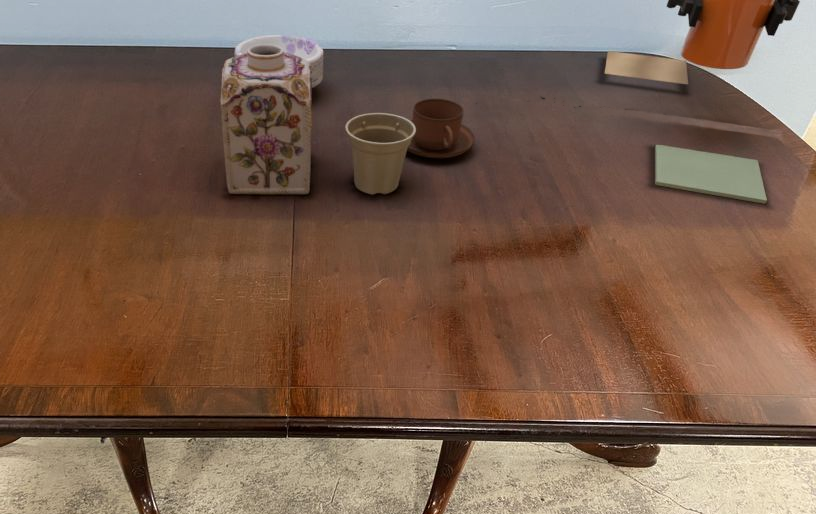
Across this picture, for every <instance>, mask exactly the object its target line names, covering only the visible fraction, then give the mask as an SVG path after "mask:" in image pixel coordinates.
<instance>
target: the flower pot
mask: <svg viewBox="0 0 816 514" xmlns="http://www.w3.org/2000/svg"><path fill="white" fill-rule="evenodd" d="M344 127H345V128H344V129H345V133H346V134H347V136H348V142H349V143H350V149H351V159H352V168H353V182H354V185H355V187H356V188H357V190H359V191H361V192H362V193H365V194H368V195H375V194H382V195H388V194H390V193H392V192H394V191H395V190H396V189H397V188H398V186H399V183H400V180H401V179H400V178H401V174H402V170H403V168H404V167H403V166H404V162H405V160H406V159H405V158H406V155H407V152H408V151H407V148H408V146H409V145H410V143H411V139H412V138H413V137H414V135H415V133H416V127H415V125H414V124H413V123H412V122H411V120H410V119H408V118H406V117H405V116H404V117H403V116H402V115H397V114H395V113H394V114H393V113H387V112H371V113H369V112H368V113H363V114H359V115H356V116H354V117H352V118H350V119H349V120H348V121H347V122H346V124H345V126H344Z"/></svg>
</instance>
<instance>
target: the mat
mask: <svg viewBox="0 0 816 514" xmlns="http://www.w3.org/2000/svg"><path fill="white" fill-rule="evenodd" d="M654 185H655V186H659V187H665V188H671V189H676V190H683V191H689V192H693V193H700V194H704V195H705V194H706V195H711V196H716V197H717V196H718V197H722V198H729V199H735V200H739V201H746V202H753V203H758V204H763V205H764V204H766V203H767V201H768V198H767V194H766V190H765V186H764V182H763V177H762V172H761V169H760V165H759V161H758V159H752V158H746V157H739V156H733V155H727V154H720V153H714V152H708V151H701V150H694V149H689V148H682V147H675V146H670V145H663V144H656V145H655V147H654Z"/></svg>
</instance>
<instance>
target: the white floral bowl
mask: <svg viewBox="0 0 816 514" xmlns="http://www.w3.org/2000/svg"><path fill="white" fill-rule="evenodd" d="M260 44H270V45H276V46H279V47H281V48H282V49H283V51H284V52H286V53H290V54H292V55H296V56H298V57H301V58H303V59H305V60H307V61H309V62H310V65H311V71H312V74H311V77H312V89H313V88H316V87H317V86H318V85H320V84H321V83H322V81H323V79H324V53H325V52H324V49H323V47H322V46H321V45H320V44H319V43H318V42H316V41H314V40H311V39H309V38H306V37H302V36H297V35H291V34H290V35H288V34H287V35H286V34H270V35H269V34H268V35H261V36H255V37H250V38H247V39H245V40H242V41H241V42H239V43H238V44H237V45H236V47H235V48H234V52H233V53H234V57H235V56H237V55H242V54H246V53H247V50H248V49H249V48H250V47H253V46H255V45H260Z"/></svg>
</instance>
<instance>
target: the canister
mask: <svg viewBox="0 0 816 514" xmlns="http://www.w3.org/2000/svg"><path fill="white" fill-rule="evenodd" d="M775 1H776V0H702V5H703V7H702V10H701V12H700V15H699V18H698V20H697V23H696V26H695V27H688V31H687V34H686V36H685V39H684V42H683V45H682V48H681V50H680V55H681V57H682V58H683V60H685V61H688V62H690V63H692V64H694V65H697V66H701V67H705V68H711V69H717V70H737V69H741V68H744V67H746V66H748V64H749V62H750V61H751V58H752V55H753V53H754V51H755V49H756V46H757V44H758V41H759V40H760V37H761V35H762V33H763V30H764V29H765V24H766V21H767V19H768V17H769V15H770V12H771V10H772V8H773V6H774V3H775Z"/></svg>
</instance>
